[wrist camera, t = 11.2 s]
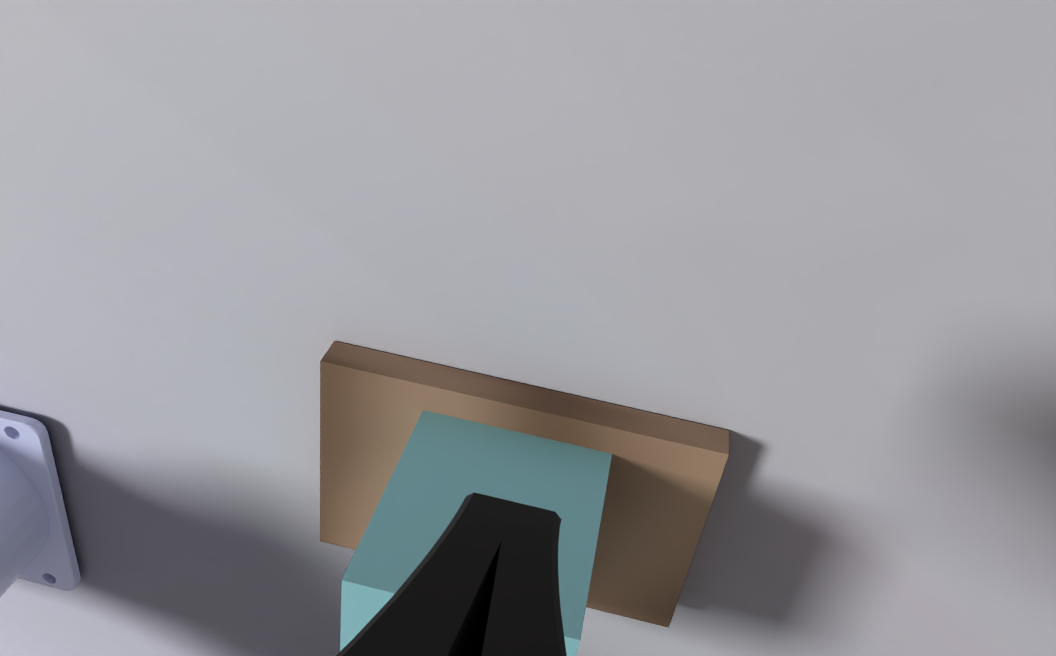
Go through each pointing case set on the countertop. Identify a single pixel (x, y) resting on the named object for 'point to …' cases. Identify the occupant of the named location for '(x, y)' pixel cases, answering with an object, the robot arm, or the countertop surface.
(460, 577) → the robot arm
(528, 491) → the teal matte cube
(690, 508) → the brown rectangular board
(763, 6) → the countertop surface
